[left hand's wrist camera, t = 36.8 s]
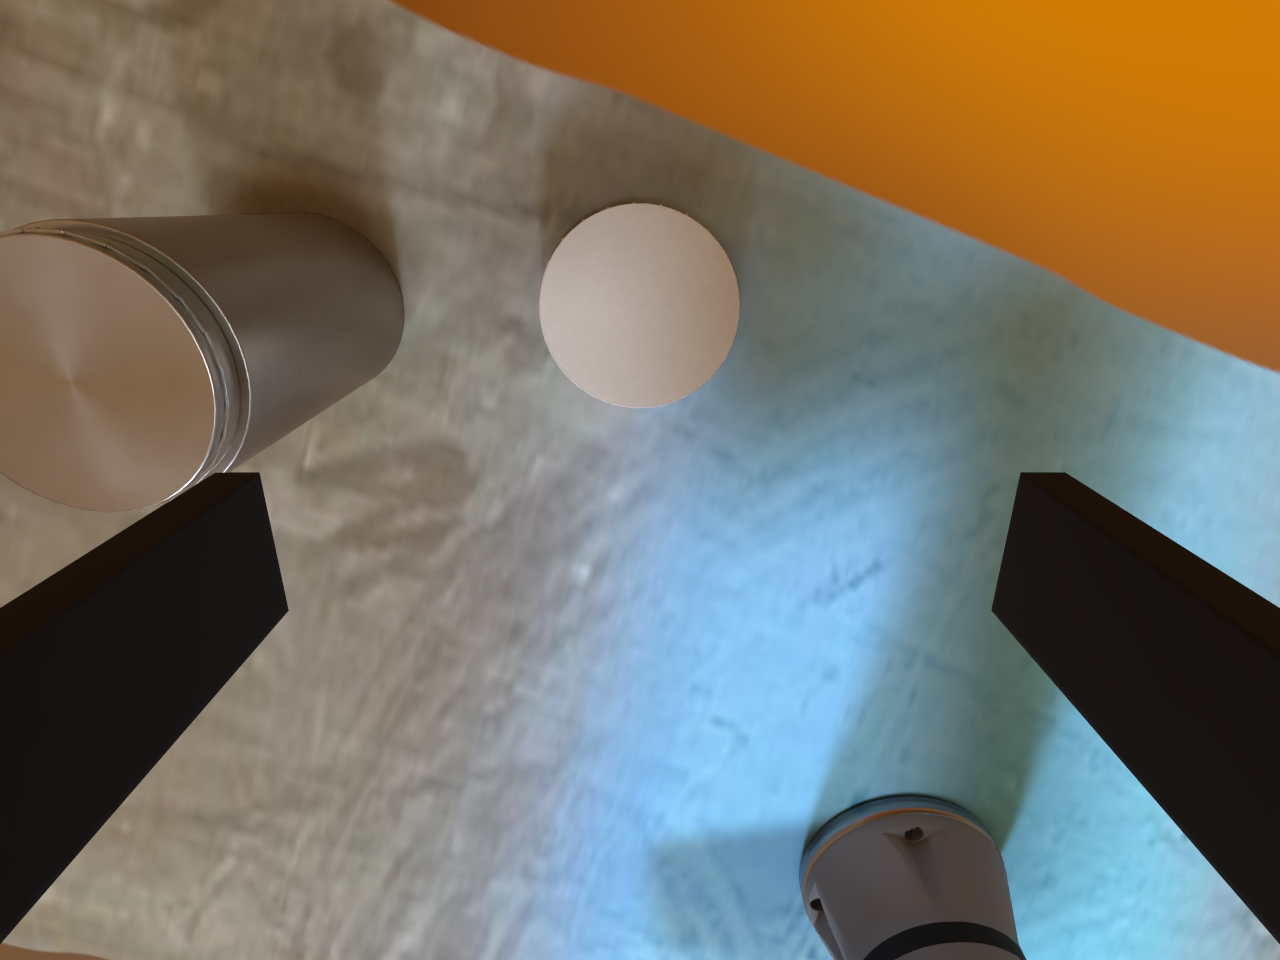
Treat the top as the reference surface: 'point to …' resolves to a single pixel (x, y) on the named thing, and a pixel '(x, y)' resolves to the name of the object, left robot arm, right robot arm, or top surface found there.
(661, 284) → the lid
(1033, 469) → the top surface
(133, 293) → the jar
